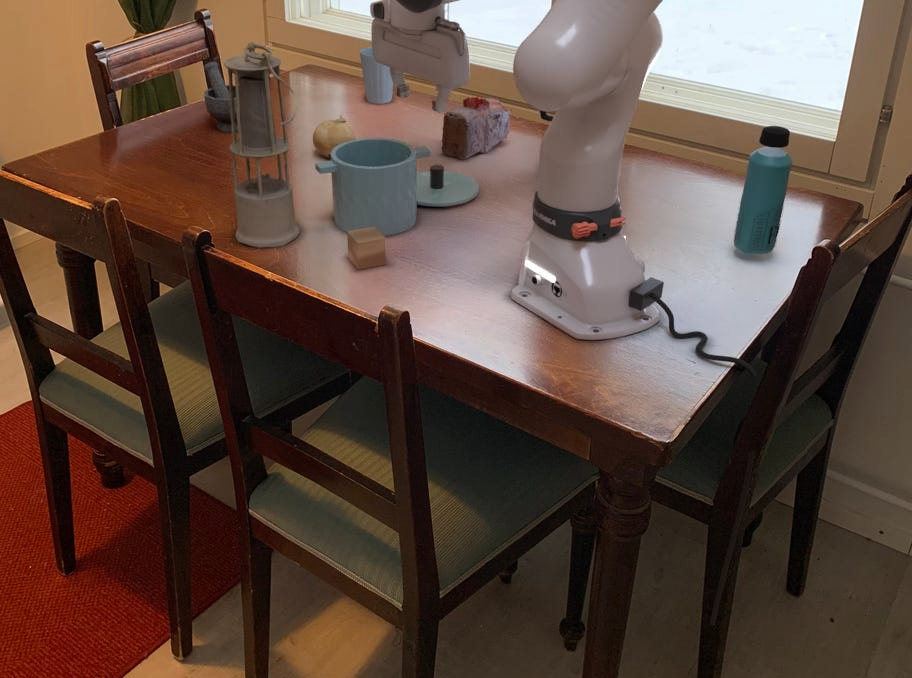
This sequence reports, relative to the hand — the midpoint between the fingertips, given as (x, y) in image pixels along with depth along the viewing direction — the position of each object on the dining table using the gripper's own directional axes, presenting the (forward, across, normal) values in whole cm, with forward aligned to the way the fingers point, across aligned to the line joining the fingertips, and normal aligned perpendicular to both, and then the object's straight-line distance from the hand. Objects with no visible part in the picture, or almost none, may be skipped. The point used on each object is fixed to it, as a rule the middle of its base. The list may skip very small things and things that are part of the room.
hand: (420, 103), depth 158 cm
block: (+19, -9, +18) cm, 27 cm away
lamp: (+19, +8, +24) cm, 32 cm away
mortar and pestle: (+18, +59, +3) cm, 62 cm away
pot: (+19, +3, +7) cm, 20 cm away
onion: (+18, +32, -4) cm, 37 cm away
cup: (+18, +53, -31) cm, 64 cm away
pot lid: (+18, +6, -8) cm, 20 cm away
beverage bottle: (+19, -44, -31) cm, 57 cm away
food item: (+19, +18, -28) cm, 38 cm away
